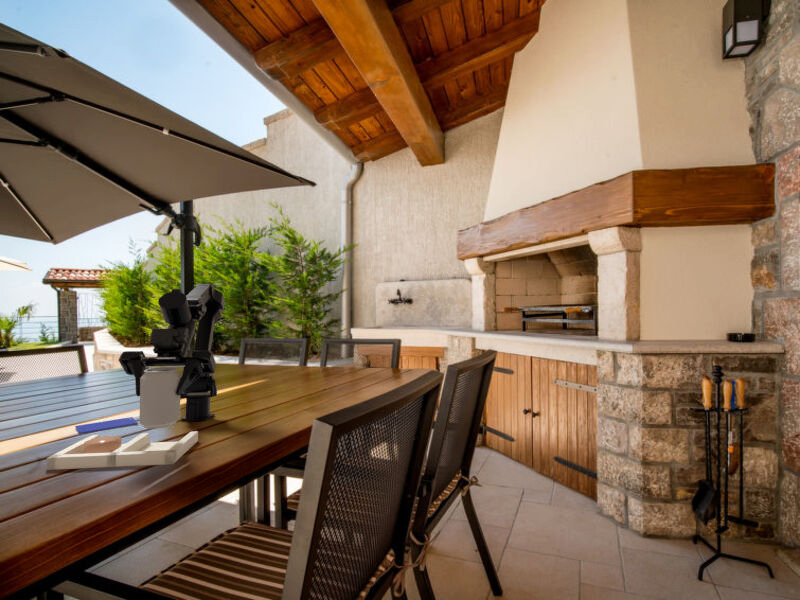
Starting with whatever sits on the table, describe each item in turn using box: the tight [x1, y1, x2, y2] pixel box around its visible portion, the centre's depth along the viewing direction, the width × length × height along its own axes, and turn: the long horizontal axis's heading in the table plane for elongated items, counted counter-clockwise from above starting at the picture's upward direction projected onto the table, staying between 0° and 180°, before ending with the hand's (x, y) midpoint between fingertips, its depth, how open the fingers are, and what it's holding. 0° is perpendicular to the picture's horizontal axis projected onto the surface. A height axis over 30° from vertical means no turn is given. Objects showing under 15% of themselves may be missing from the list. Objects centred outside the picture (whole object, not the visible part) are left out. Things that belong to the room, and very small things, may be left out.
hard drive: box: [74, 416, 139, 435], centre depth 105 cm, size 2×8×12 cm
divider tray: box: [46, 430, 199, 471], centre depth 85 cm, size 14×23×3 cm, turn 98°
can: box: [139, 366, 182, 429], centre depth 86 cm, size 8×8×12 cm
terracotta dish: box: [84, 435, 123, 454], centre depth 85 cm, size 6×6×3 cm
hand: (157, 394), depth 85 cm, fingers closed on can, 7 cm apart
